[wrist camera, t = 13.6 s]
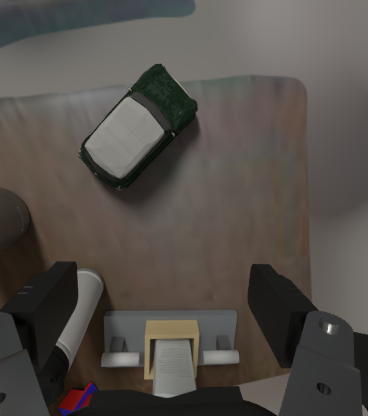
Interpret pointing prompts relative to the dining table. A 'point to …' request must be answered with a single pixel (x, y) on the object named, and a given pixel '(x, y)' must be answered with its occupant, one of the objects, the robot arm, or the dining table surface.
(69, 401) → the toy building block
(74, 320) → the travel mug
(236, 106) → the dining table surface
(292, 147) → the dining table surface
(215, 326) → the stand
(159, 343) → the skincare box
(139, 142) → the miniature car
